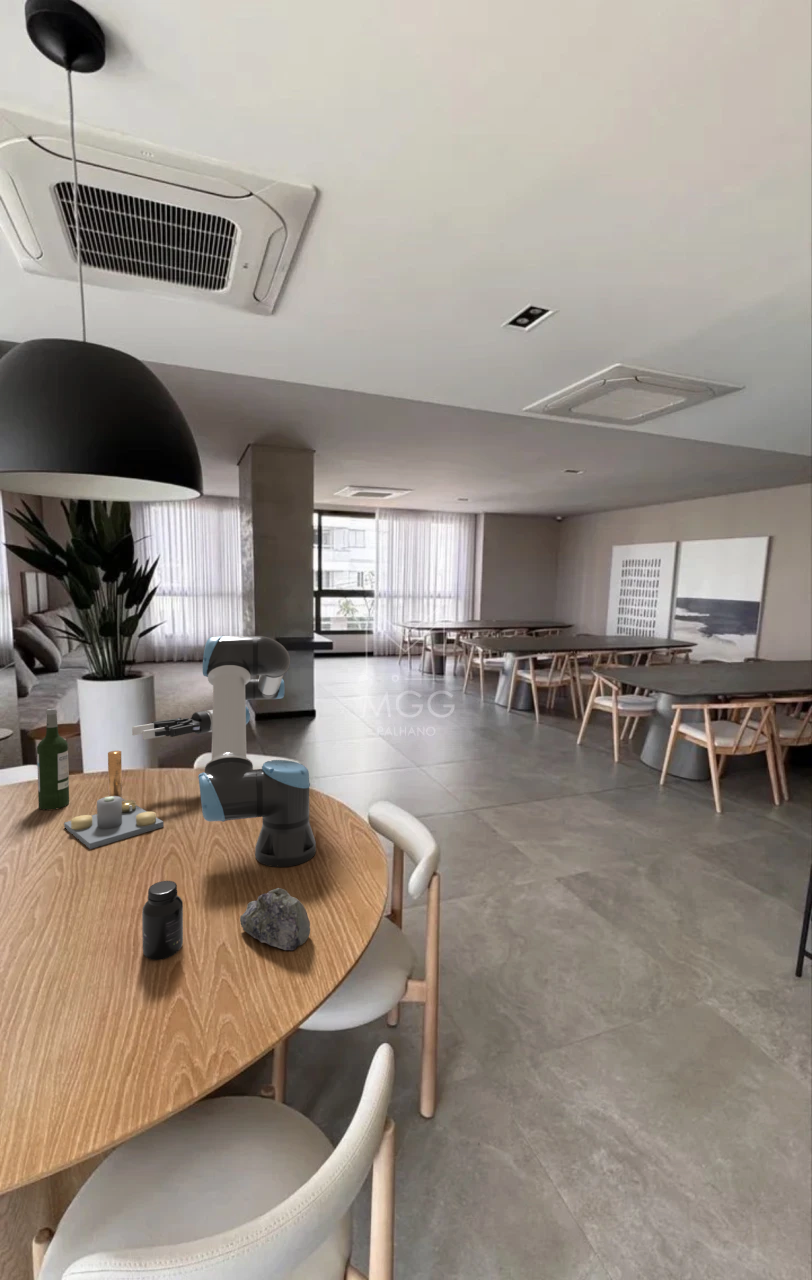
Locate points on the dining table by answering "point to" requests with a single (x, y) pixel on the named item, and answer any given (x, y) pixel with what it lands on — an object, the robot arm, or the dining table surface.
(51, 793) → the wine bottle
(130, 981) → the dining table surface
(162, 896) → the supplement bottle
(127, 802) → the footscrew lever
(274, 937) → the mineral rock
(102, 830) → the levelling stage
